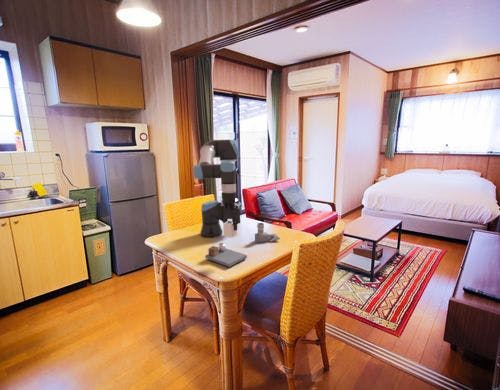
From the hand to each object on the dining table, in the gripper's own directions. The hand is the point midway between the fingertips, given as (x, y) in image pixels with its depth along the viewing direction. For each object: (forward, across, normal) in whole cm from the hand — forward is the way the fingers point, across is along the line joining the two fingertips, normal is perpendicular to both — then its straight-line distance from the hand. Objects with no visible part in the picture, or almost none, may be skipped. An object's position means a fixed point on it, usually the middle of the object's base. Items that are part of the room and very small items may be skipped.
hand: (230, 235), depth 146 cm
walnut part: (+12, -10, -4) cm, 16 cm away
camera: (+15, -4, +37) cm, 40 cm away
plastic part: (0, 0, 0) cm, 0 cm away
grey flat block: (+15, -4, 0) cm, 15 cm away
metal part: (+12, -10, +3) cm, 16 cm away
